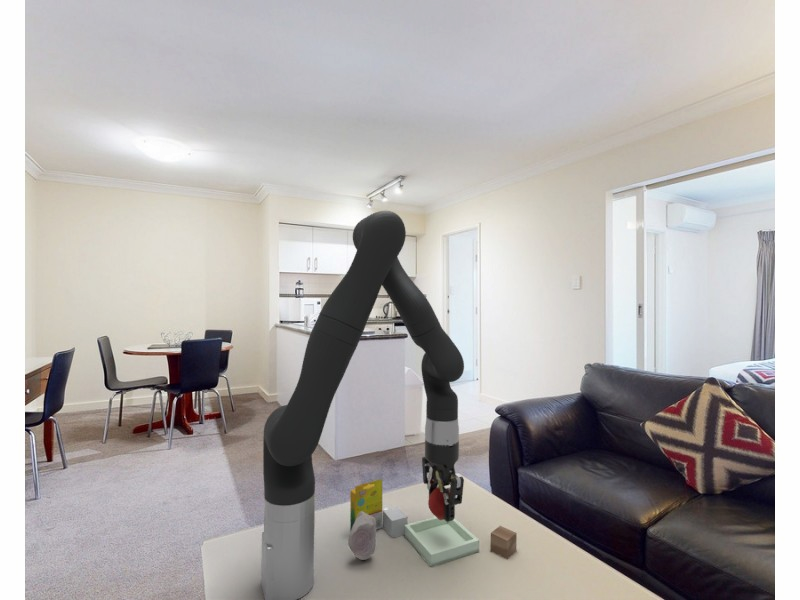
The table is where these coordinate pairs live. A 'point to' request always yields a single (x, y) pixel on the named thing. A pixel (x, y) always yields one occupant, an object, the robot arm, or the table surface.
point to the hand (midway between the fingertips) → (441, 512)
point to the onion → (437, 503)
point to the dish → (441, 540)
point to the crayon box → (367, 502)
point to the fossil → (363, 536)
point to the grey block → (394, 521)
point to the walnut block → (503, 542)
